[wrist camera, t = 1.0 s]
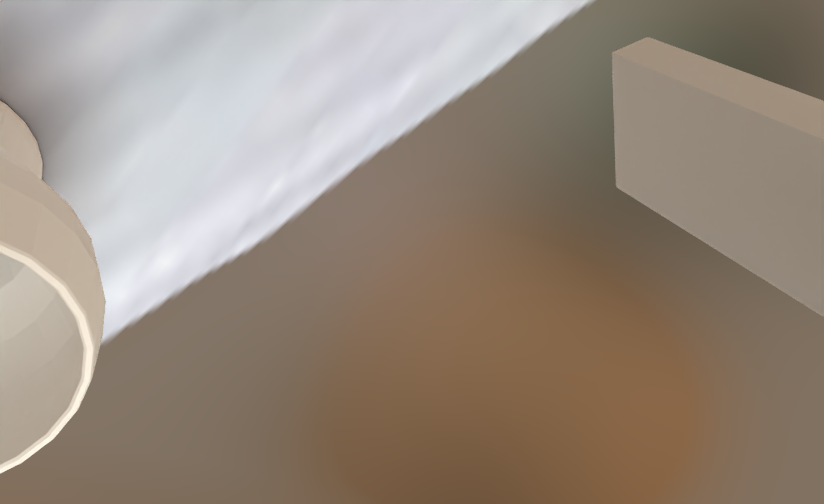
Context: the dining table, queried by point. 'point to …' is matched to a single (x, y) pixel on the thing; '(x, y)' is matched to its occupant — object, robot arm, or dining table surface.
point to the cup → (41, 301)
